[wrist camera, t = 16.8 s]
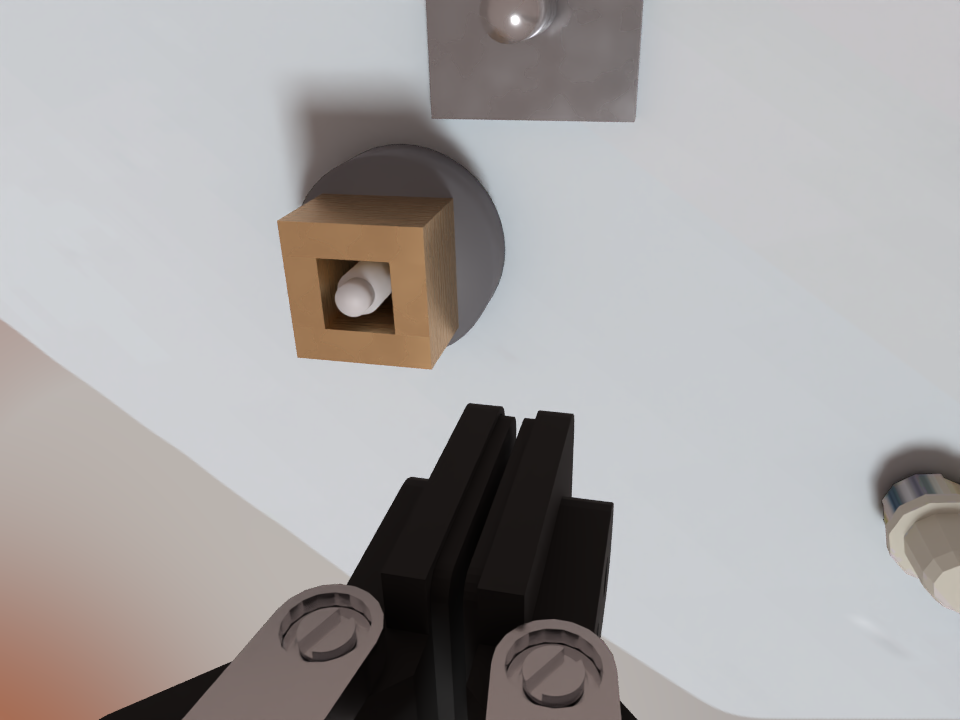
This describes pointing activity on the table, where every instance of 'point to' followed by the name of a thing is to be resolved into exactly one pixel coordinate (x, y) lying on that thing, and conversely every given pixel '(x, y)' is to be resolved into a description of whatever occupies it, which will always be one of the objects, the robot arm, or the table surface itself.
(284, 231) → the collar
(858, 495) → the table surface
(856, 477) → the table surface
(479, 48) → the stand
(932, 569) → the toothbrush head
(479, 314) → the hub
